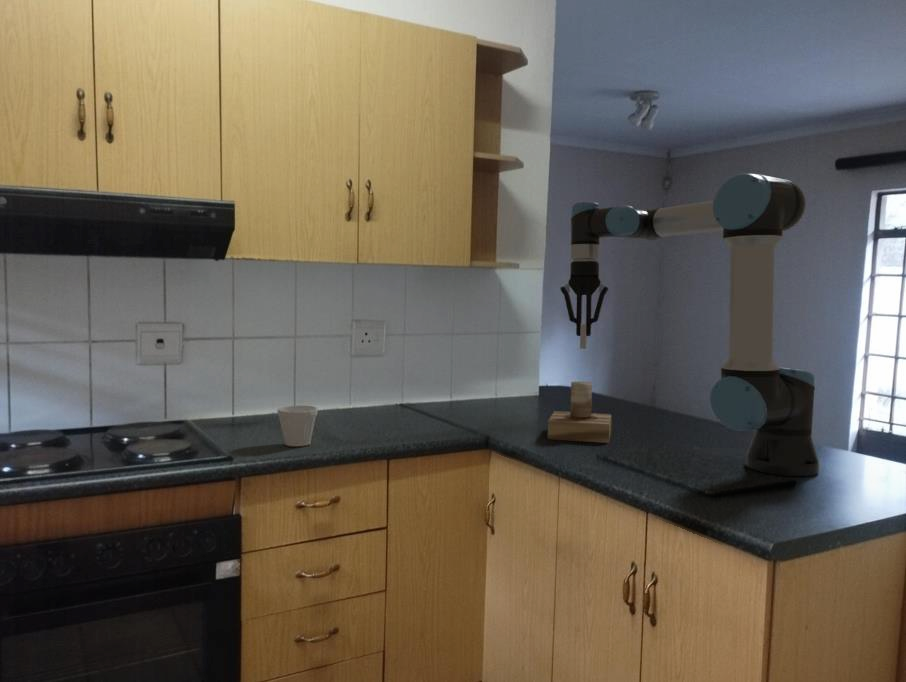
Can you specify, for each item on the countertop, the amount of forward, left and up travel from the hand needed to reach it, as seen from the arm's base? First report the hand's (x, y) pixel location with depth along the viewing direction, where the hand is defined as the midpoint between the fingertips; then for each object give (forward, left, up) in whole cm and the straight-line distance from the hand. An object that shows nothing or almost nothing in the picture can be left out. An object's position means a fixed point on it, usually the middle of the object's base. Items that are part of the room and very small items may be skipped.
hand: (583, 348), depth 193 cm
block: (0, 0, -24) cm, 24 cm away
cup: (-33, +68, -24) cm, 80 cm away
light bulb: (0, 0, -24) cm, 24 cm away
